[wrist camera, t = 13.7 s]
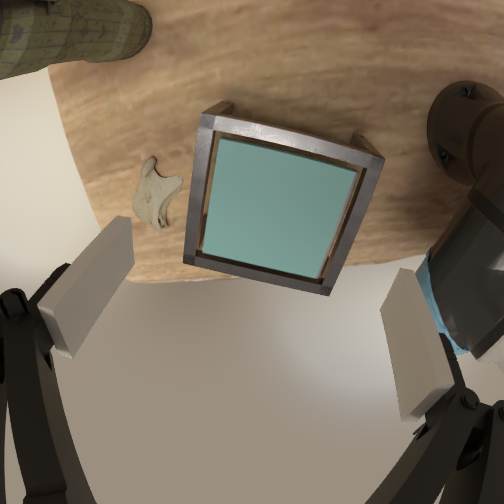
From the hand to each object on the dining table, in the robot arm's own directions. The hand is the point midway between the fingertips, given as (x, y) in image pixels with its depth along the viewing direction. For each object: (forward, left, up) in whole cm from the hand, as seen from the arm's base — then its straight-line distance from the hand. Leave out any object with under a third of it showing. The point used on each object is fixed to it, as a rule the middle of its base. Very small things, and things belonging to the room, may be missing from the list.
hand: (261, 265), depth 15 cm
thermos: (+24, -11, -30) cm, 40 cm away
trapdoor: (-1, +7, -20) cm, 21 cm away
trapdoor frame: (-1, +7, -29) cm, 30 cm away
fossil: (+16, +13, -30) cm, 36 cm away
